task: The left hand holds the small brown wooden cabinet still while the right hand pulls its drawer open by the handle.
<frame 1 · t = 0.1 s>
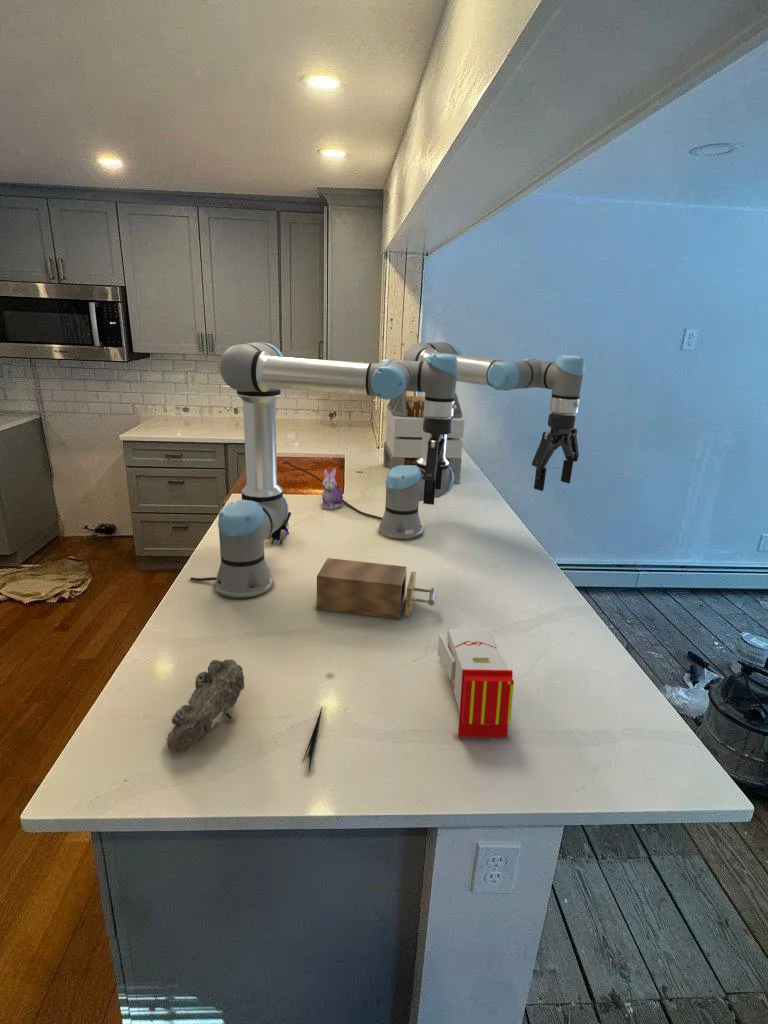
left hand: (432, 496, 152), 28 cm above the counter, tool pointing down, fingers open, 13 cm apart
right hand: (552, 485, 166), 28 cm above the counter, tool pointing down, fingers open, 13 cm apart
figurine character: (279, 538, 191), on the counter
fossil: (212, 717, 108), on the counter
drawer: (385, 590, 149), point 5 cm above the counter, slide at 1.4 cm
cabinet: (361, 603, 152), on the counter
toy: (469, 691, 119), on the counter
figurine: (332, 506, 224), on the counter
feather: (319, 719, 109), on the counter
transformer: (419, 473, 275), on the counter
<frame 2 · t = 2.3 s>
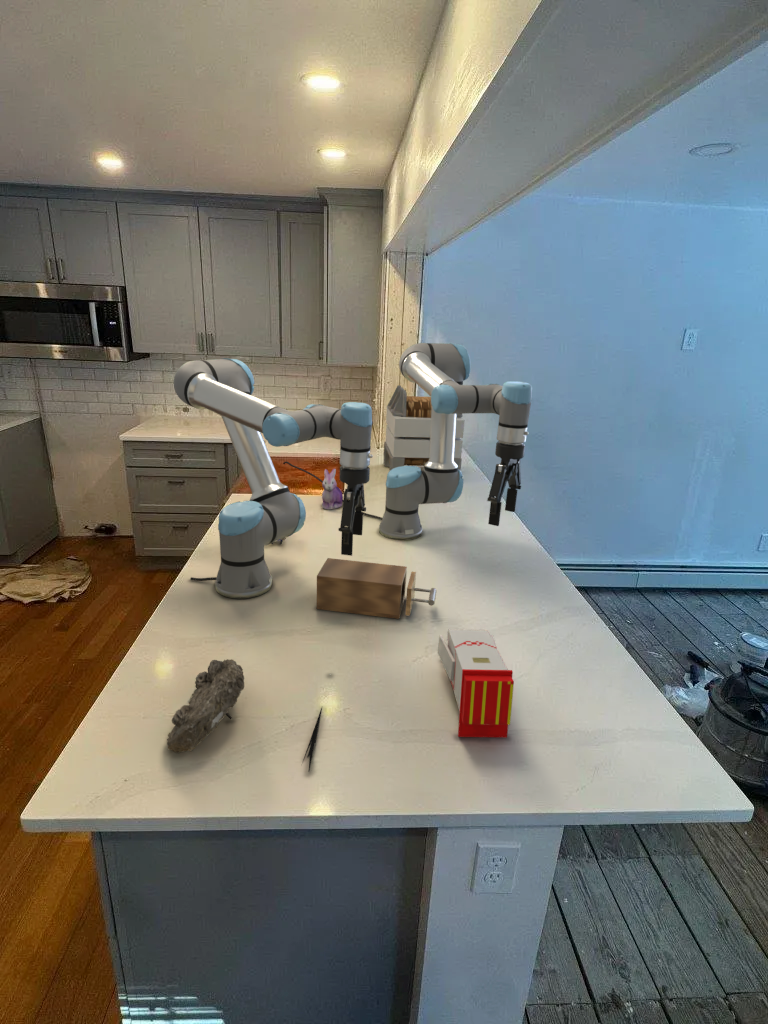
left hand: (352, 544, 149), 16 cm above the counter, tool pointing down, fingers open, 13 cm apart
right hand: (502, 517, 157), 22 cm above the counter, tool pointing down, fingers open, 13 cm apart
nothing on the counter moved.
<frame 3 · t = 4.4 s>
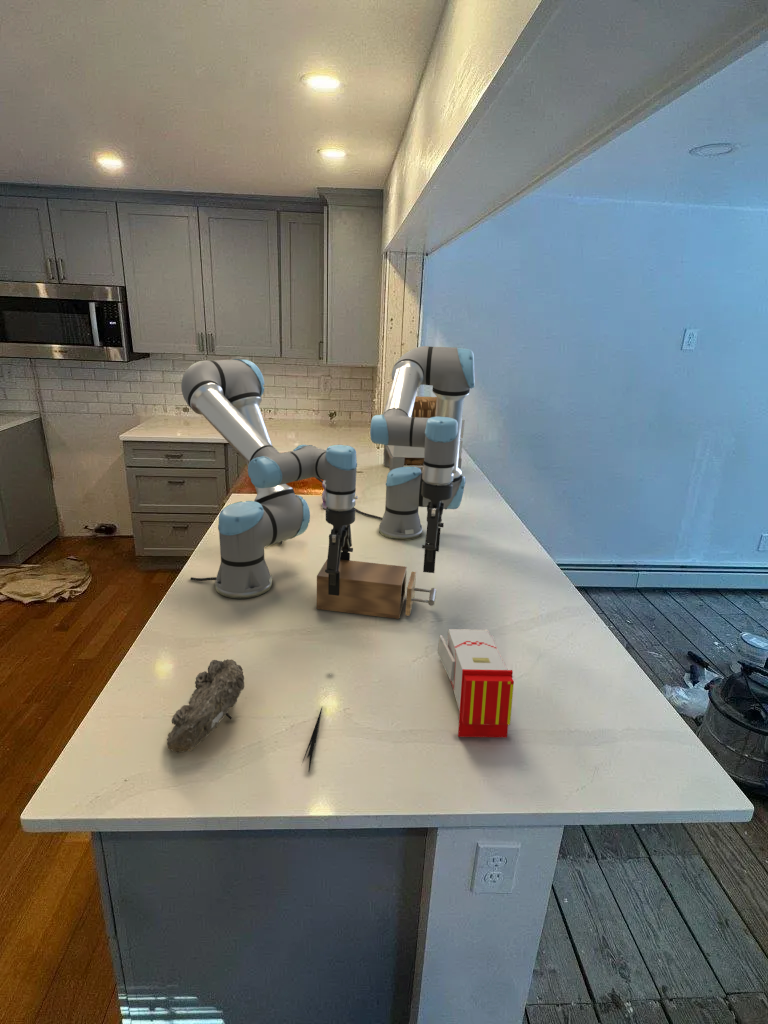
left hand: (339, 584, 151), 5 cm above the counter, tool pointing down, fingers closed on cabinet, 11 cm apart
right hand: (431, 560, 146), 14 cm above the counter, tool pointing down, fingers open, 13 cm apart
cabinet: (361, 603, 152), on the counter, touching left hand
everything else where it was.
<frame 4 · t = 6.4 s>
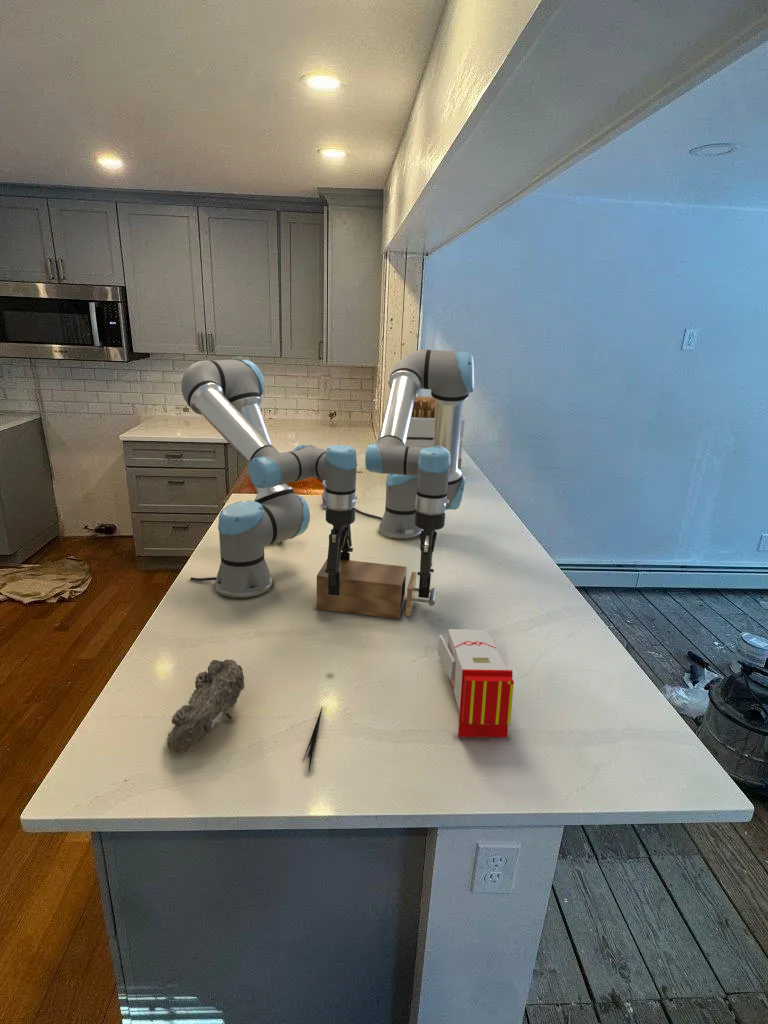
left hand: (339, 584, 151), 5 cm above the counter, tool pointing down, fingers closed on cabinet, 11 cm apart
right hand: (423, 596, 148), 5 cm above the counter, tool pointing down, fingers closed
cabinet: (361, 603, 152), on the counter, touching left hand
everything else where it was.
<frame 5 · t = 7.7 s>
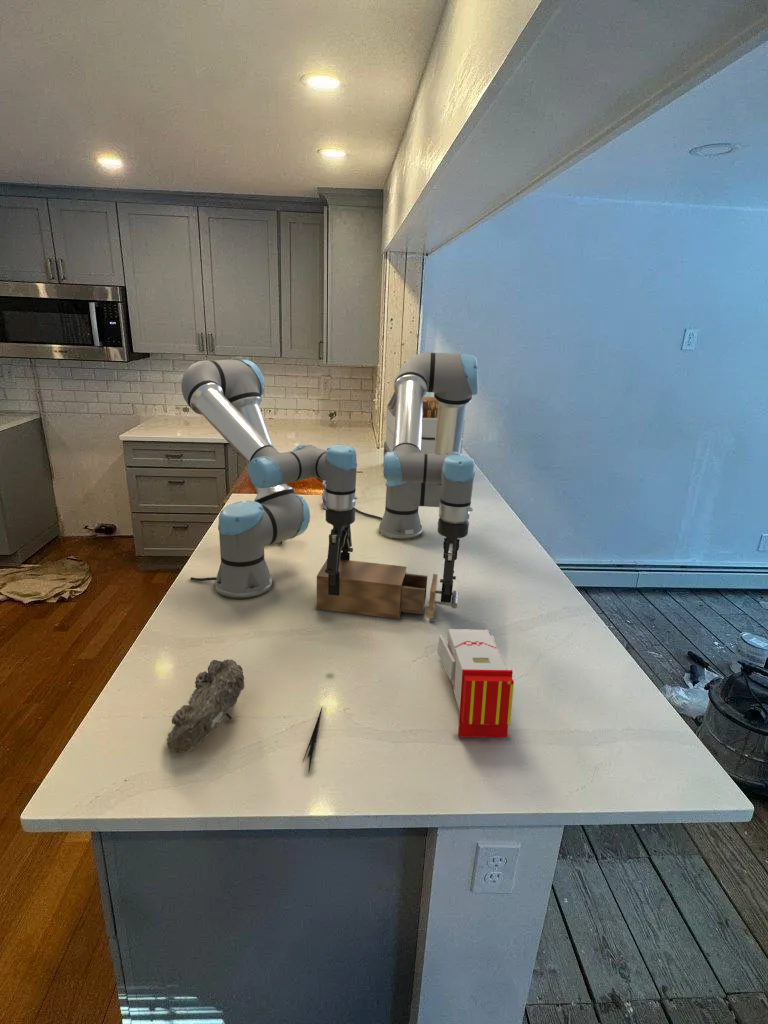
left hand: (339, 584, 151), 5 cm above the counter, tool pointing down, fingers closed on cabinet, 11 cm apart
right hand: (445, 603, 148), 3 cm above the counter, tool pointing down, fingers closed
drawer: (407, 592, 149), point 5 cm above the counter, slide at 7.3 cm, touching right hand
cabinet: (361, 603, 152), on the counter, touching left hand
everything else where it was.
when the left hand's fingers open (5 cm above the counter, at t = 9.7 s): cabinet stays where it is, on the counter.
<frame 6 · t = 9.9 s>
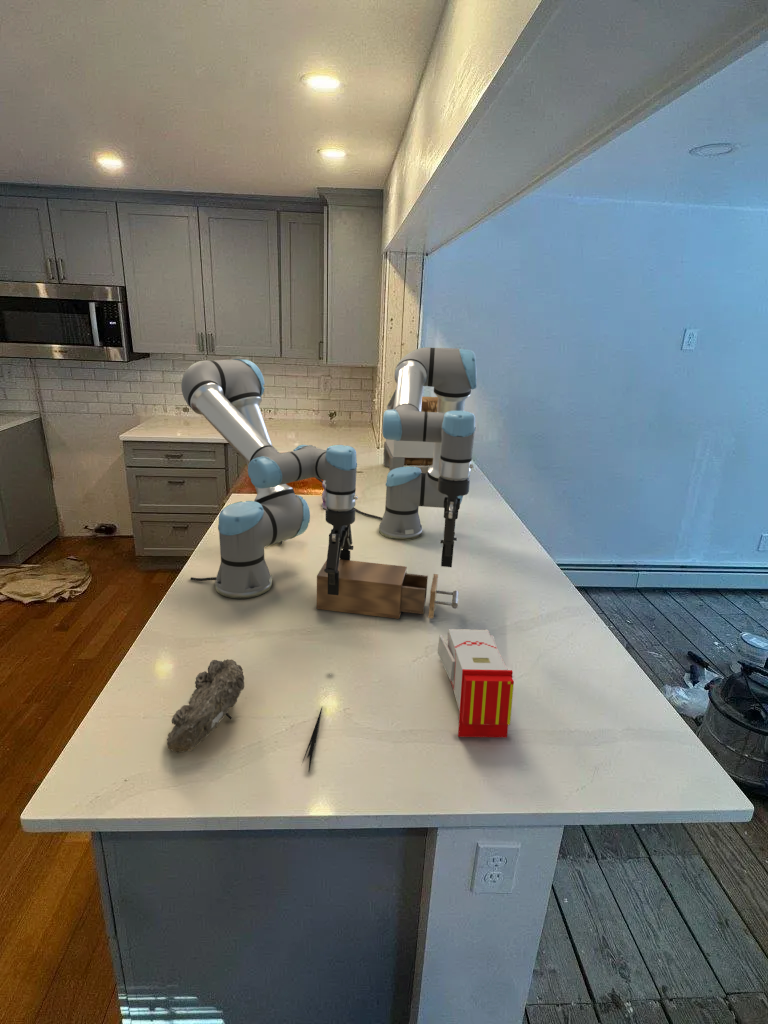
left hand: (339, 582, 151), 5 cm above the counter, tool pointing down, fingers open, 12 cm apart
right hand: (446, 565, 144), 14 cm above the counter, tool pointing down, fingers closed
drawer: (407, 592, 149), point 5 cm above the counter, slide at 7.4 cm
cabinet: (361, 603, 152), on the counter
everything else where it was.
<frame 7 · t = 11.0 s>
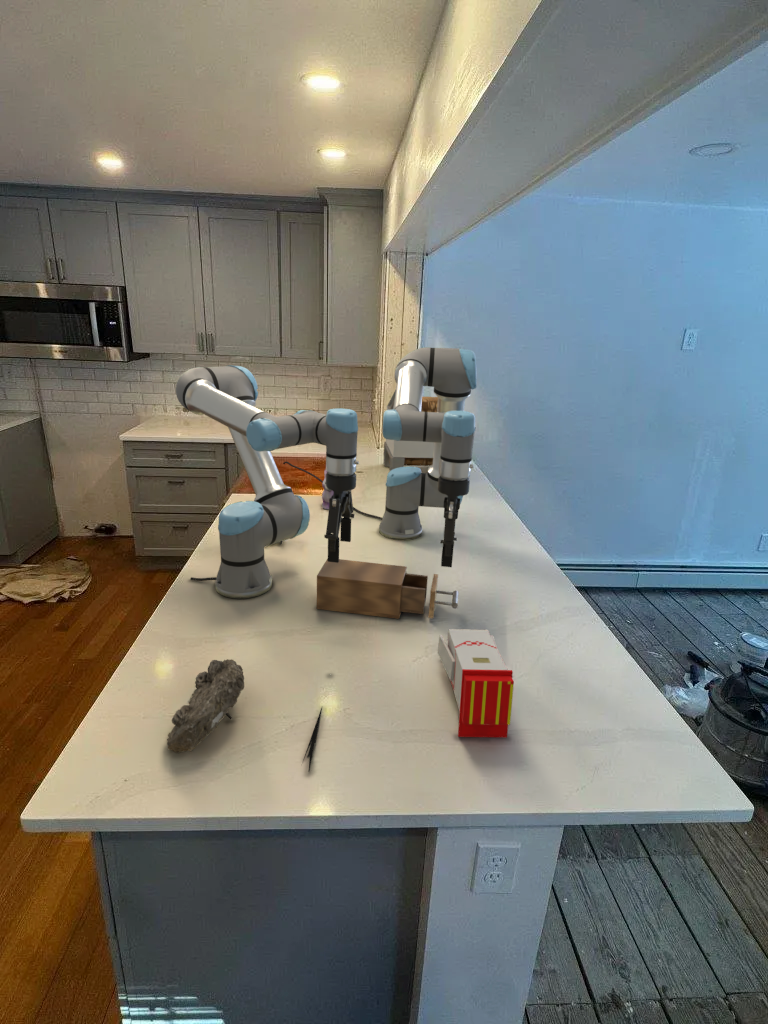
left hand: (339, 551, 148), 15 cm above the counter, tool pointing down, fingers open, 13 cm apart
right hand: (446, 565, 144), 14 cm above the counter, tool pointing down, fingers closed
nothing on the counter moved.
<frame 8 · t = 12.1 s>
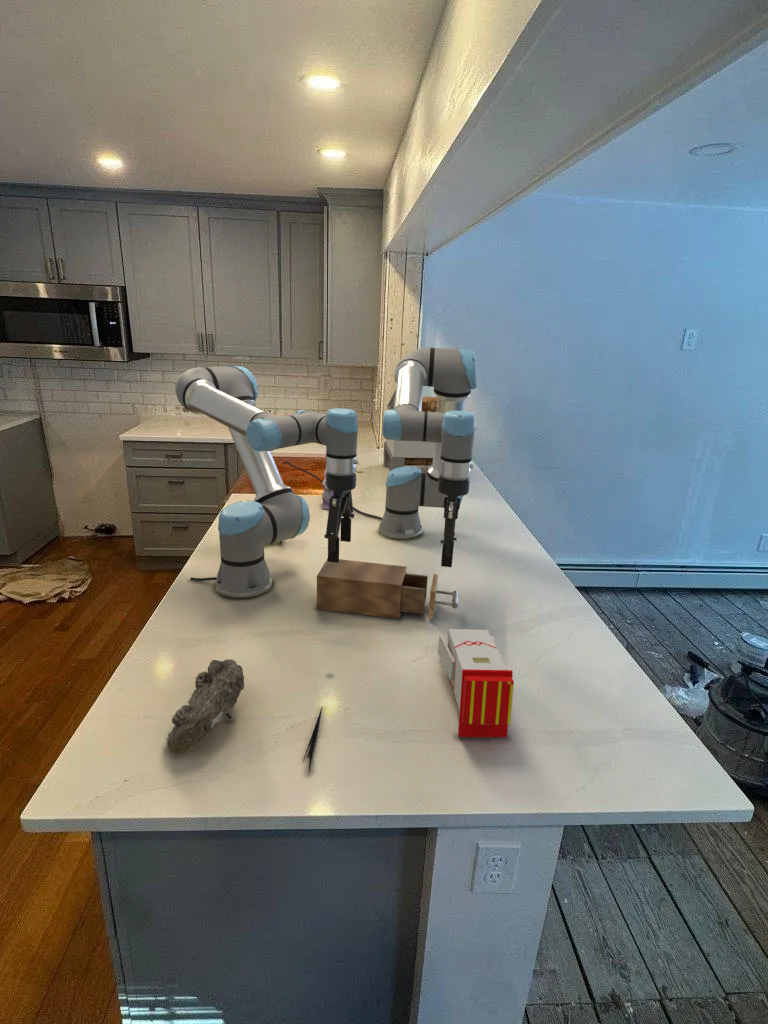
left hand: (339, 550, 148), 15 cm above the counter, tool pointing down, fingers open, 13 cm apart
right hand: (446, 565, 144), 14 cm above the counter, tool pointing down, fingers closed
nothing on the counter moved.
at the end: drawer slide at 7.4 cm; cabinet tilted 0°; cabinet never tilted more than 1° during the clip; cabinet moved 0.0 cm from its start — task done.
